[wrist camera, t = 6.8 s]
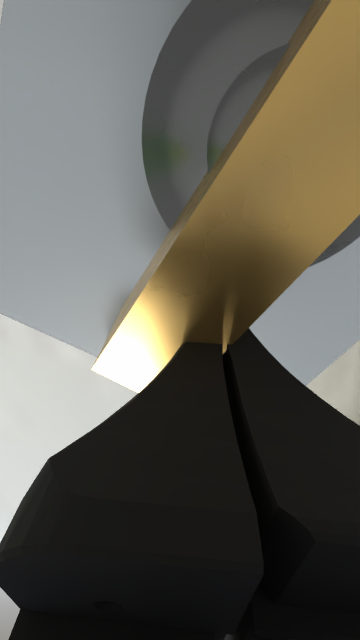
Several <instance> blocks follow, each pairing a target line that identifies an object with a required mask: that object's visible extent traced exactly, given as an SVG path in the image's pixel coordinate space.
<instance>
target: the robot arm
mask: <svg viewBox="0 0 360 640" xmlns="http://www.w3.org/2000/svg"><path fill="white" fill-rule="evenodd" d="M222 353H223V344H215V343H200V342H185V343H183V344H182V345H181V346H180V348H179V349H178V350H177V352H176V353H175V354H174V356H173V357H172V358H171V360H170V361H169V362H168V363H167V364H166V366H165V367H164V368H163V369H162V370H161V371H160V372H159V373H158V374H157V376H156V377H155V378H154V379H153V380H152V381H151V382H150V383H149V384H148V385H146V386H145V387H144V388H143V389H142V390H141V391H140V392H139V393H138V394H137V395H136V396H135V397H134V398H132V399H131V400H130V401H129V402H128V403H126V404H125V405H124V406H123V407H121V408H120V409H119V410H118V411H116V412H115V413H114V414H113V415H111V416H110V417H109V418H108V419H106V420H105V421H104V422H102V423H101V424H100V425H98V426H97V427H96V428H94V429H93V430H91V431H90V432H88V433H87V434H85V435H84V436H82V437H81V438H79V439H78V440H76V441H75V442H73V443H72V444H70V445H69V446H67V447H66V448H64V449H63V450H61V451H60V452H58V453H57V454H55V455H53V456H52V457H50V458H49V459H48V460H47V462H46V463H45V465H44V466H43V468H42V470H41V471H40V473H39V474H38V476H37V477H36V479H35V480H34V482H33V483H32V485H31V487H30V488H29V490H28V491H27V493H26V495H25V496H24V498H23V499H22V501H21V503H20V505H19V507H18V509H17V511H16V513H15V515H14V517H13V519H12V521H11V523H10V525H9V527H8V529H7V531H6V533H5V535H4V537H3V539H2V541H1V543H0V587H1V588H2V589H3V590H4V591H5V592H6V594H7V595H8V596H9V597H10V598H11V599H12V600H13V601H14V602H15V604H16V605H17V606H18V607H19V608H20V612H19V614H18V617H17V619H16V622H15V624H14V627H13V630H12V632H11V635H10V637H9V640H360V426H359V425H358V424H356V423H355V422H353V421H352V420H350V419H349V418H347V417H346V416H344V415H343V414H342V413H340V412H339V411H337V410H336V409H335V408H333V407H332V406H331V405H329V404H328V403H326V402H325V401H324V400H322V399H321V398H320V397H319V396H317V395H316V394H315V393H313V392H312V391H311V390H310V389H308V388H307V387H306V386H305V385H304V384H303V383H301V382H300V381H299V380H298V379H297V378H296V377H294V376H293V375H292V374H291V373H290V372H289V371H288V370H287V369H286V368H285V367H283V366H282V365H281V364H280V363H279V361H278V360H277V359H276V358H275V357H274V356H273V355H272V354H271V353H270V352H269V351H268V350H267V349H266V348H265V347H264V345H263V344H262V343H261V342H260V341H259V340H258V338H257V337H256V336H255V335H254V334H253V332H252V331H251V330H250V329H249V328H248V329H247V330H246V331H245V332H244V333H243V334H242V335H241V336H240V337H239V338H238V339H237V340H236V341H235V343H234V344H233V345H231V344H227V349H226V352H225V353H224V354H223V355H222Z"/></svg>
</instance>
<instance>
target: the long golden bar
mask: <svg viewBox="0 0 360 640" xmlns="http://www.w3.org/2000/svg"><path fill="white" fill-rule="evenodd" d="M142 154H143V163H144V169H145V174H146V180H147V183H148V186H149V189H150V192H151V196H152V198H153V201H154V203H155V205H156V207H157V210H158V212H159V214H160V215H161V217H162V219H163V220H164V222H165V224H166V225H167V227H168V228H169V229H170V231H169V233H168V234H167V236H166V238H165V239H164V241H163V242H162V244H161V246H160V247H159V249H158V250H157V252H156V254H155V255H154V257H153V258H152V260H151V262H150V263H149V265H148V266H147V268H146V270H145V271H144V273H143V274H142V276H141V278H140V279H139V281H138V282H137V284H136V286H135V287H134V289H133V290H132V292H131V294H130V295H129V297H128V298H127V300H126V302H125V303H124V305H123V306H122V308H121V310H120V312H119V315H118V317H117V319H116V321H115V323H114V325H113V327H112V329H111V331H110V333H109V335H108V337H107V339H106V341H105V343H104V345H103V347H102V349H101V351H100V353H99V355H98V357H97V359H96V361H95V363H94V366H93V368H92V370H94V371H96V372H98V373H100V374H102V375H104V376H106V377H108V378H110V379H112V380H114V381H116V382H118V383H120V384H122V385H124V386H126V387H128V388H130V389H132V390H134V391H136V392H138V393H139V392H140V391H141V390H142V389H143V388H144V387H145V386H146V385H148V384H149V383H150V382H151V381H152V380H153V379H154V378H155V377H156V376H157V374H158V373H159V372H160V371H161V370H162V369H163V368H164V367H165V366H166V364H167V363H168V362H169V361H170V360H171V358H172V357H173V356H174V354H175V353H176V352H177V350H178V349H179V348H180V346H181V345H182V344H183V343H185V342H200V343H215V344H223V353H222V355H223V354H224V353H225V352H226V349H227V344H231V345H233V344H234V343H235V341H236V340H237V339H238V338H239V337H240V336H241V335H242V334H243V333H244V332H245V331H246V330H247V329H248V328H249V327H250V326H251V325H252V324H253V323H254V322H255V321H256V320H257V319H258V318H259V317H260V316H261V315H262V314H263V313H264V312H265V311H266V310H267V309H268V308H269V307H270V306H271V305H272V304H273V303H274V302H275V301H276V300H277V299H278V297H279V296H280V295H281V294H282V293H283V292H284V291H285V290H286V289H287V288H288V287H289V286H290V285H291V284H292V283H293V282H294V281H295V280H296V279H297V278H298V277H299V276H300V275H301V274H302V273H303V272H304V271H305V270H306V269H307V268H308V267H310V266H313V265H315V264H317V263H319V262H322V261H324V260H326V259H328V258H329V257H331V256H333V255H335V254H336V253H338V252H340V251H341V250H343V249H344V248H345V247H347V246H348V245H350V244H351V243H352V242H354V241H355V240H356V239H358V238H359V237H360V0H192V1H191V2H190V3H189V4H188V5H187V7H186V8H185V10H184V11H183V13H182V14H181V15H180V17H179V18H178V20H177V21H176V23H175V24H174V26H173V27H172V29H171V31H170V33H169V35H168V37H167V39H166V41H165V43H164V45H163V47H162V49H161V51H160V53H159V56H158V58H157V61H156V64H155V66H154V69H153V72H152V74H151V78H150V82H149V86H148V90H147V93H146V98H145V104H144V111H143V118H142Z"/></svg>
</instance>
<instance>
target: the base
mask: <svg viewBox="0 0 360 640" xmlns="http://www.w3.org/2000/svg"><path fill="white" fill-rule="evenodd" d="M191 1H192V0H4V3H3V10H2V18H1V25H0V314H2V315H4V316H7V317H9V318H11V319H13V320H16V321H18V322H20V323H22V324H25V325H27V326H29V327H31V328H33V329H36V330H38V331H40V332H42V333H45V334H47V335H49V336H51V337H53V338H56V339H58V340H60V341H62V342H65V343H67V344H69V345H71V346H74V347H76V348H78V349H80V350H82V351H85V352H87V353H89V354H91V355H94V356H96V357H98V355H99V353H100V351H101V349H102V347H103V345H104V343H105V341H106V339H107V337H108V335H109V333H110V331H111V329H112V327H113V325H114V323H115V321H116V319H117V317H118V315H119V312H120V310H121V308H122V306H123V305H124V303H125V302H126V300H127V298H128V297H129V295H130V294H131V292H132V290H133V289H134V287H135V286H136V284H137V282H138V281H139V279H140V278H141V276H142V274H143V273H144V271H145V270H146V268H147V266H148V265H149V263H150V262H151V260H152V258H153V257H154V255H155V254H156V252H157V250H158V249H159V247H160V246H161V244H162V242H163V241H164V239H165V238H166V236H167V234H168V233H169V231H170V229H169V228H168V227H167V225H166V224H165V222H164V220H163V219H162V217H161V215H160V214H159V212H158V210H157V207H156V205H155V203H154V201H153V198H152V196H151V192H150V189H149V186H148V183H147V180H146V174H145V169H144V163H143V154H142V118H143V111H144V104H145V98H146V93H147V90H148V86H149V82H150V78H151V74H152V72H153V69H154V66H155V64H156V61H157V58H158V56H159V53H160V51H161V49H162V47H163V45H164V43H165V41H166V39H167V37H168V35H169V33H170V31H171V29H172V27H173V26H174V24H175V23H176V21H177V20H178V18H179V17H180V15H181V14H182V13H183V11H184V10H185V8H186V7H187V5H188V4H189V3H190V2H191ZM249 329H250V330H251V331H252V332H253V334H254V335H255V336H256V337H257V338H258V340H259V341H260V342H261V343H262V344H263V345H264V347H265V348H266V349H267V350H268V351H269V352H270V353H271V354H272V355H273V356H274V357H275V358H276V359H277V360H278V361H279V363H280V364H281V365H282V366H283V367H285V368H286V369H287V370H288V371H289V372H290V373H291V374H292V375H293V376H294V377H296V378H297V379H298V380H299V381H300V382H301V383H303V384H304V385H305V386H306V385H307V384H308V383H310V382H311V381H312V380H313V379H314V378H315V377H317V376H318V375H319V374H320V373H321V372H322V371H324V370H325V369H326V368H327V367H328V366H329V365H331V364H332V363H333V362H334V361H335V360H336V359H338V358H339V357H340V356H341V355H342V354H343V353H345V352H346V351H347V350H348V349H349V348H350V347H352V346H353V345H354V344H355V343H356V342H357V341H359V340H360V237H359V238H358V239H356V240H355V241H354V242H352V243H351V244H350V245H348V246H347V247H345V248H344V249H343V250H341V251H340V252H338V253H336V254H335V255H333V256H331V257H329V258H328V259H326V260H324V261H322V262H319V263H317V264H315V265H313V266H310V267H308V268H307V269H306V270H305V271H304V272H303V273H302V274H301V275H300V276H299V277H298V278H297V279H296V280H295V281H294V282H293V283H292V284H291V285H290V286H289V287H288V288H287V289H286V290H285V291H284V292H283V293H282V294H281V295H280V296H279V297H278V299H277V300H276V301H275V302H274V303H273V304H272V305H271V306H270V307H269V308H268V309H267V310H266V311H265V312H264V313H263V314H262V315H261V316H260V317H259V318H258V319H257V320H256V321H255V322H254V323H253V324H252V325H251V326H250V327H249Z"/></svg>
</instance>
